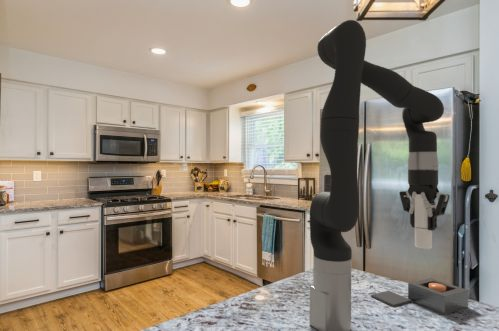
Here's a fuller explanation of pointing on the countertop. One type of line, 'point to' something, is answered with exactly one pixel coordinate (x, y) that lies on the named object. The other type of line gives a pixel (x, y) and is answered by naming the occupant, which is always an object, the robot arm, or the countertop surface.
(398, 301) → the pad
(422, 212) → the tube
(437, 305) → the frame
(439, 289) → the orange dome
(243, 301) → the countertop surface
